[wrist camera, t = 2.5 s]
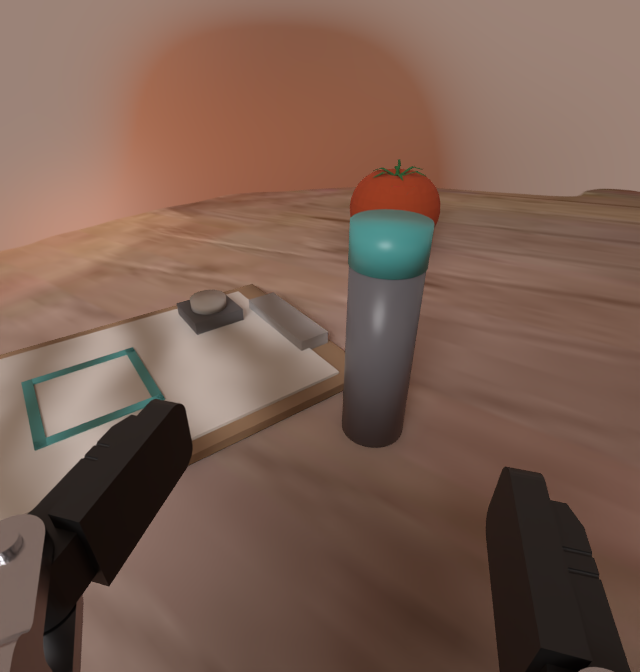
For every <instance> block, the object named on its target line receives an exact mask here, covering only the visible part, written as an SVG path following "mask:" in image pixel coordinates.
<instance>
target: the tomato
mask: <svg viewBox="0 0 640 672" xmlns="http://www.w3.org/2000/svg"><path fill="white" fill-rule="evenodd" d="M400 166H401V163H400V160H398V166H395V169H385V168H380V169H383V170H377V171H375V172H373V173H371V174H370V175H368V176H366V177H365V178H364V179H363V180H362V181H361V182H360V183H359V184H358V186H357V187H356V189H355V190H354V193H353V195H352V198H351V203H350V216H351V217H352V216H353V215H354V214H357V213H359V212H363V211H368V210H378V209H393V210H404V211H410V212H415V213H419V214H422V215H425V216H427V217H429V218H431V219H432V220H433V221H434V227H435V225H436V223H437V221H438V218H439V214H440V199H439V194H438V192H437V189H436V187H435V186H434V184H433V183H432V182H431V181H430V180H429V179H428V178H427V177H426V176H425V175H424V174H422V173H420V172H418V171H412V170H410V169H412V168H413V166H412V167H410V168H408V169H407V170H404V169H400ZM415 168H416V167H415ZM418 169H420V168H418Z"/></svg>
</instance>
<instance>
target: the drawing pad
mask: <svg viewBox="0 0 640 672" xmlns="http://www.w3.org/2000/svg"><path fill="white" fill-rule="evenodd" d="M344 367H345V351H343V350H342V349H341V348H339V347H338V346H336V345H335V344H334V343H332V342H331V341H330V340H328V331H327V330H325V329H324V328H322V327H321V326H320V325H318V324H317V323H315V322H314V321H312V320H311V319H310V318H308V317H307V316H305V315H304V314H303V313H301V312H300V311H298V310H297V309H296V308H294V307H293V306H291V305H290V304H289V303H287V302H286V301H284V300H283V299H282V298H280V297H279V296H277V295H276V294H275V293H270V294H265V293H264V292H263V291H261V290H260V289H259V288H257V287H256V286H255V285H253V284H251V285H247V286H244V287H240V288H237V289H233V290H229V291H226V292H222V291H219V290H204V291H200V292H197V293H195V294H193V295H192V296H191V297H190V300H187V301H184V302H180V303H177V305H176V306H173V307H169V308H165V309H162V310H158V311H155V312H151V313H148V314H144V315H141V316H137V317H133V318H130V319H126V320H123V321H119V322H116V323H112V324H109V325H105V326H101V327H98V328H94V329H91V330H87V331H84V332H80V333H77V334H73V335H70V336H66V337H62V338H59V339H55V340H52V341H48V342H45V343H41V344H38V345H34V346H30V347H27V348H23V349H20V350H16V351H13V352H9V353H6V354H2V355H0V521H1V520H3V519H5V518H8V517H11V516H15V515H22V514H28V513H29V512H30V511H31V510H33V509H34V508H35V507H36V506H37V505H38V504H39V502H40V501H41V500H42V499H43V498H44V497H45V496H46V495H47V494H48V493H49V492H50V491H51V490H52V489H53V488H54V487H55V486H56V485H57V484H58V483H59V481H60V480H61V479H62V478H63V477H64V476H65V475H66V474H67V473H68V472H69V471H70V470H71V469H72V468H73V467H74V466H75V465H76V464H77V463H78V461H79V460H80V459H81V458H82V459H83V458H84V457H85V454H86V453H87V452H88V451H89V450H90V449H91V448H92V447H93V446H94V445H95V446H96V444H97V441H98V440H99V439H100V438H101V437H102V436H103V435H104V434H105V433H106V432H107V431H108V430H109V429H110V428H111V427H112V426H113V425H115V424H117V423H118V422H120V421H122V420H123V419H125V418H127V417H128V416H130V415H136V416H137V415H138V414H139V413H140V412H141V411H142V409H143V408H144V407H145V406H146V405H147V404H148V403H149V402H150V401H151V400H153V399H159V400H164V401H170V402H175V403H180V404H183V405H184V407H185V409H186V414H187V419H188V424H189V429H190V434H191V439H192V444H193V451H192V456H191V460H190V462H189V465H190V464H192V463H195V462H197V461H199V460H201V459H203V458H205V457H207V456H209V455H211V454H213V453H215V452H217V451H219V450H221V449H223V448H225V447H228V446H230V445H232V444H234V443H236V442H238V441H240V440H242V439H244V438H246V437H248V436H250V435H252V434H254V433H256V432H258V431H261V430H263V429H265V428H267V427H269V426H271V425H273V424H275V423H277V422H279V421H281V420H283V419H285V418H287V417H289V416H292V415H294V414H296V413H298V412H300V411H302V410H304V409H306V408H308V407H310V406H312V405H314V404H316V403H318V402H320V401H322V400H325V399H327V398H329V397H331V396H333V395H335V394H337V393H339V392H341V391H343V389H344Z"/></svg>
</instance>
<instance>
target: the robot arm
mask: <svg viewBox="0 0 640 672" xmlns="http://www.w3.org/2000/svg"><path fill="white" fill-rule="evenodd" d="M192 451H193V444H192V439H191V434H190V429H189V424H188V419H187V414H186V409H185V407H184V405H183V404H180V403H175V402H170V401H164V400H159V399H153V400H151V401H150V402H149V403H148V404H147V405H146V406H145V407H144V408H143V409H142V411H141V412H140V413H139V414H138V415H137V416H136V415H130V416H128V417H127V418H125V419H123V420H122V421H120V422H118V423H117V424H115V425H113V426H112V427H111V428H110V429H109V430H108V431H107V432H106V433H105V434H104V435H103V436H102V437H101V438H100V439H99V440H98V441H97V444H96V446H95V445H94V446H93V447H92V448H91V449H90V450H89V451H88V452H87V453H86V454H85V457H84V458H83V459H82V458H81V459H80V460H79V461H78V463H77V464H76V465H75V466H74V467H73V468H72V469H71V470H70V471H69V472H68V473H67V474H66V475H65V476H64V477H63V478H62V479H61V480H60V481H59V483H58V484H57V485H56V486H55V487H54V488H53V489H52V490H51V491H50V492H49V493H48V494H47V495H46V496H45V497H44V498H43V499H42V500H41V501H40V502H39V504H38V505H37V506H36V507H35V508H34V509H33V510H31V511H30V512H29V513H28V514H22V515H15V516H11V517H8V518H5V519H3V520H1V521H0V672H80V670H81V648H82V626H83V604H84V602H83V595H82V594H83V593H84V591H85V590H86V588H87V587H88V586H89V584H90V583H91V581H92V582H96V583H99V584H102V585H106V586H110V584H111V583H112V581H113V580H114V578H115V577H116V575H117V574H118V572H119V571H120V569H121V568H122V566H123V564H124V563H125V561H126V560H127V558H128V557H129V555H130V554H131V552H132V551H133V549H134V548H135V546H136V545H137V543H138V542H139V540H140V539H141V537H142V535H143V534H144V532H145V531H146V529H147V528H148V526H149V525H150V523H151V522H152V520H153V519H154V517H155V516H156V514H157V513H158V511H159V510H160V508H161V506H162V505H163V503H164V502H165V500H166V499H167V497H168V496H169V494H170V493H171V491H172V490H173V488H174V487H175V485H176V484H177V482H178V481H179V479H180V477H181V476H182V474H183V473H184V471H185V470H186V468H187V467H188V465H189V462H190V460H191V456H192ZM486 541H487V551H488V561H489V570H490V580H491V590H492V600H493V610H494V620H495V630H496V640H497V650H498V660H499V670H500V672H631V671H630V668H629V665H628V662H627V659H626V656H625V653H624V650H623V647H622V644H621V641H620V638H619V634H618V631H617V628H616V625H615V622H614V619H613V616H612V613H611V610H610V607H609V603H608V600H607V597H606V594H605V591H604V588H603V585H602V582H601V580H599V572H598V569H597V566H596V563H595V560H594V558H592V551H591V548H590V544H589V541H588V538H587V535H586V532H585V529H584V527H583V525H582V524H581V523H580V521H579V520H578V518H577V517H576V516H575V514H574V513H573V512H572V510H571V509H570V508H569V506H568V505H567V504H566V503H562V502H557V501H552V500H550V498H549V494H548V490H547V487H546V483H545V479H544V477H543V475H542V474H541V473H536V472H531V471H526V470H521V469H515V468H510V467H504V468H503V470H502V472H501V475H500V478H499V480H498V483H497V486H496V488H495V491H494V494H493V497H492V499H491V502H490V505H489V508H488V512H487V518H486Z"/></svg>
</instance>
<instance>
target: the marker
mask: <svg viewBox="0 0 640 672" xmlns="http://www.w3.org/2000/svg"><path fill="white" fill-rule="evenodd" d="M433 231H434V221H433V220H432V219H431V218H429V217H427V216H425V215H422V214H419V213H415V212H410V211H404V210H393V209H378V210H368V211H363V212H359V213H357V214H354V215H353V216H352V217H351V218H350V231H349V254H348V264H349V278H348V300H347V323H346V345H345V367H344V389H343V411H342V428H343V431H344V433H345V434H346V435H347V437H348V438H349V439H351V440H352V441H354V442H355V443H357V444H359V445H362V446H366V447H373V448H378V447H384V446H388V445H390V444H392V443H394V442H395V441H396V440H397V439H398V438H399V437H400V435H401V432H402V426H403V420H404V413H405V407H406V400H407V394H408V387H409V380H410V374H411V367H412V361H413V354H414V348H415V341H416V335H417V328H418V321H419V315H420V308H421V302H422V295H423V289H424V282H425V276H426V270H427V269H428V263H429V257H430V250H431V244H432V237H433Z"/></svg>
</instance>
